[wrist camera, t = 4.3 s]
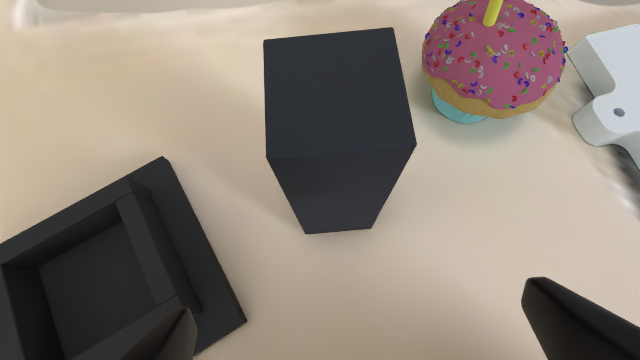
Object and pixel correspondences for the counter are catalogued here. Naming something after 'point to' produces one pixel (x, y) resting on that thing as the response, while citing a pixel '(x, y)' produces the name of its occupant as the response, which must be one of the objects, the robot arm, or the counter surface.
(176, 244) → the socket pad
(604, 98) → the mounting plate
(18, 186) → the counter surface
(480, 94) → the cupcake
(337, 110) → the post
